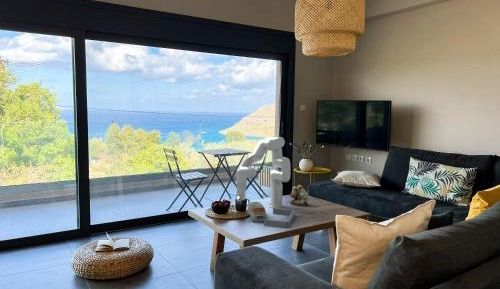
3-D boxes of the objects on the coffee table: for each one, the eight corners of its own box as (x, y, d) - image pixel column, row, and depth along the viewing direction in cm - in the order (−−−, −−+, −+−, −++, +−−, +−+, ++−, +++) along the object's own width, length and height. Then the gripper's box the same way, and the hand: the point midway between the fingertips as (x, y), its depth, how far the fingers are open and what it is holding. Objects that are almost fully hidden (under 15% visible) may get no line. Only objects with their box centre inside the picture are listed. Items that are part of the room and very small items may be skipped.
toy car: (253, 223, 265) (253, 209, 264) (247, 213, 289) (247, 201, 288) (267, 222, 267) (268, 209, 266) (260, 213, 291) (260, 200, 290)
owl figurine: (286, 204, 319) (286, 184, 318) (292, 201, 329) (293, 182, 327) (305, 207, 309) (305, 187, 307) (311, 204, 318) (311, 185, 317)
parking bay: (273, 213, 291) (273, 208, 291) (294, 214, 287) (294, 209, 286) (264, 225, 260) (264, 219, 260) (287, 227, 256) (288, 222, 256)
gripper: (240, 182, 288) (239, 204, 290) (233, 186, 272) (232, 209, 273) (249, 183, 286) (248, 204, 288) (243, 187, 270) (242, 210, 271)
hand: (241, 207), depth 280 cm, fingers open, 9 cm apart
